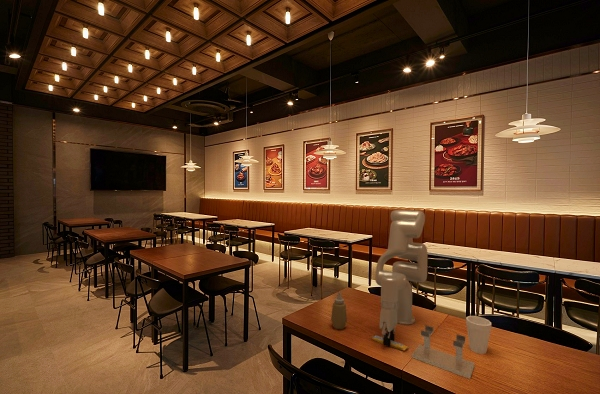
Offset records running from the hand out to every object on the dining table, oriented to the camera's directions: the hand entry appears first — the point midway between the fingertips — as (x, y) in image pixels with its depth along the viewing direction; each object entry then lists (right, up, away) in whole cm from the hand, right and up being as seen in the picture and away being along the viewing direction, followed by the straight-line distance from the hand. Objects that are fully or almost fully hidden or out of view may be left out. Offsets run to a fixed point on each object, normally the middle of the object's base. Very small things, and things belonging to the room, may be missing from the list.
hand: (388, 343), depth 126 cm
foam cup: (+38, -1, -4) cm, 38 cm away
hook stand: (+18, -1, -13) cm, 22 cm away
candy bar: (0, -1, 0) cm, 1 cm away
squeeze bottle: (-21, 0, +16) cm, 26 cm away
